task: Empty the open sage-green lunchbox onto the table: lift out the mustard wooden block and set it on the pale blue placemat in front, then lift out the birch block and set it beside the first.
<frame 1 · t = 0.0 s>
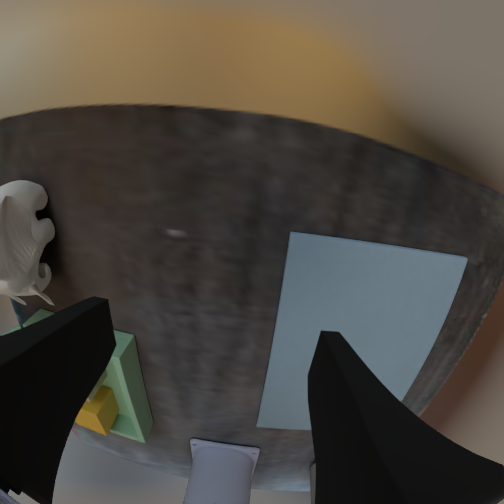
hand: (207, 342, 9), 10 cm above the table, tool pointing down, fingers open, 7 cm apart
beverage can: (333, 460, 28), on the table
placemat: (354, 359, 21), on the table
mustard block: (100, 394, 25), point 1 cm above the table, touching lunchbox
elephant figurine: (36, 229, 20), on the table
lunchbox: (96, 372, 25), on the table
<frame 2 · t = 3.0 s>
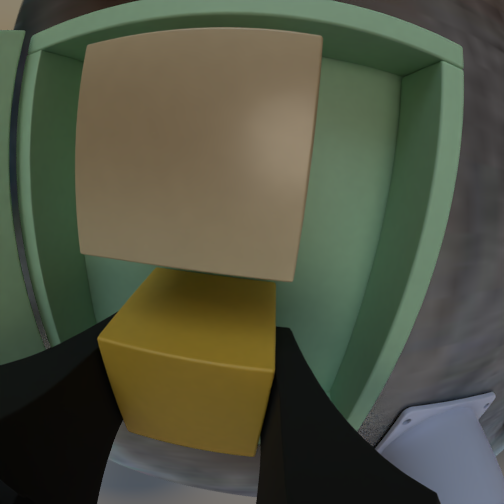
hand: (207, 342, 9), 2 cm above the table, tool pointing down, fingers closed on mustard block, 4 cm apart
birch block: (222, 145, 8), point 1 cm above the table, touching lunchbox
mustard block: (212, 324, 10), point 1 cm above the table, touching gripper, lunchbox
lunchbox: (219, 237, 9), on the table
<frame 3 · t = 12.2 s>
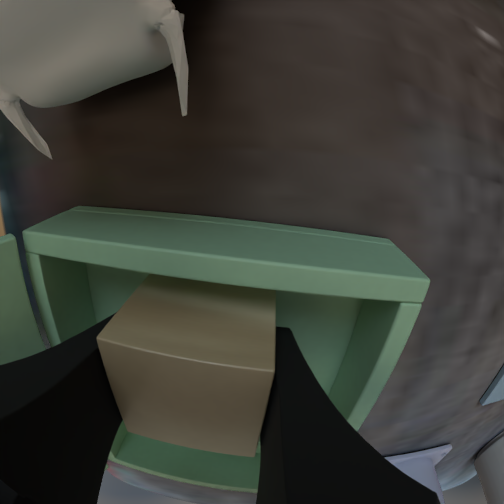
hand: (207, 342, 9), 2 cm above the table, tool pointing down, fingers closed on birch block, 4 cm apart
beverage can: (496, 440, 15), on the table
birch block: (211, 324, 10), point 1 cm above the table, touching gripper, lunchbox
lunchbox: (214, 369, 12), on the table
when the fingers open (1 cm above the table, at t = 17.2 s): birch block moves 2 cm, resting on placemat.
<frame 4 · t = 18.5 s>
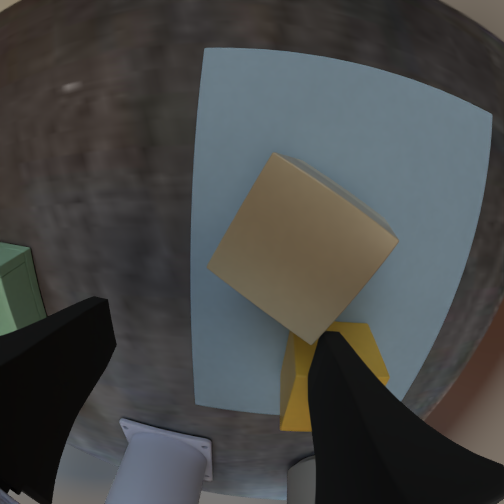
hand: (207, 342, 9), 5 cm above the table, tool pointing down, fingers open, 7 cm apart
beverage can: (321, 462, 20), on the table
placemat: (338, 282, 13), on the table
birch block: (316, 229, 11), point 1 cm above the table, tilted 17°, touching placemat
mustard block: (322, 350, 14), resting on placemat
lunchbox: (8, 314, 17), on the table
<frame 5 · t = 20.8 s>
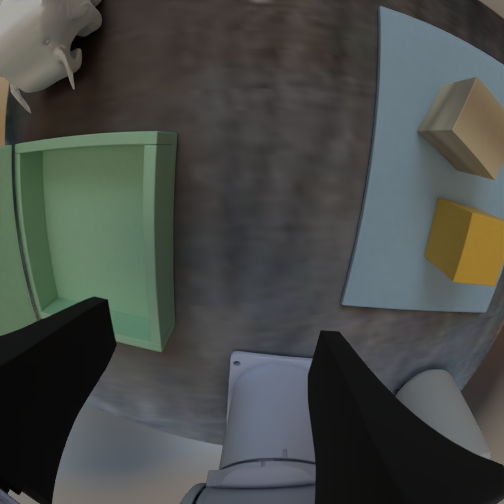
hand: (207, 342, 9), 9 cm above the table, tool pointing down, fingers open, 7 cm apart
beverage can: (419, 387, 22), on the table
placemat: (460, 174, 15), on the table
birch block: (450, 128, 13), resting on placemat
mustard block: (452, 231, 16), resting on placemat
elephant figurine: (73, 36, 13), on the table
lunchbox: (100, 231, 18), on the table
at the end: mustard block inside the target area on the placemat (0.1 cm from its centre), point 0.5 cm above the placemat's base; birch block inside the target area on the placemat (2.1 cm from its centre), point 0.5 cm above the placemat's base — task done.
